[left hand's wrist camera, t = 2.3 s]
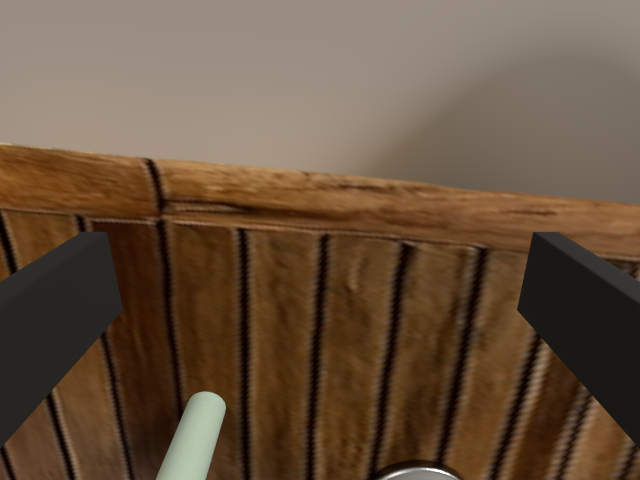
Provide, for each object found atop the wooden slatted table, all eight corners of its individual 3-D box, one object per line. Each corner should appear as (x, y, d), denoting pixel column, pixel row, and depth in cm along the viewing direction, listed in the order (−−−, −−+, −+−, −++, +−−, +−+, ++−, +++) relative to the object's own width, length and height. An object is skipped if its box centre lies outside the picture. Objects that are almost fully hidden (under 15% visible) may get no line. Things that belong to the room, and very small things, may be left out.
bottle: (217, 387, 49) (167, 531, 33) (231, 415, 51) (191, 566, 35) (181, 396, 50) (116, 542, 34) (197, 424, 51) (142, 576, 35)
